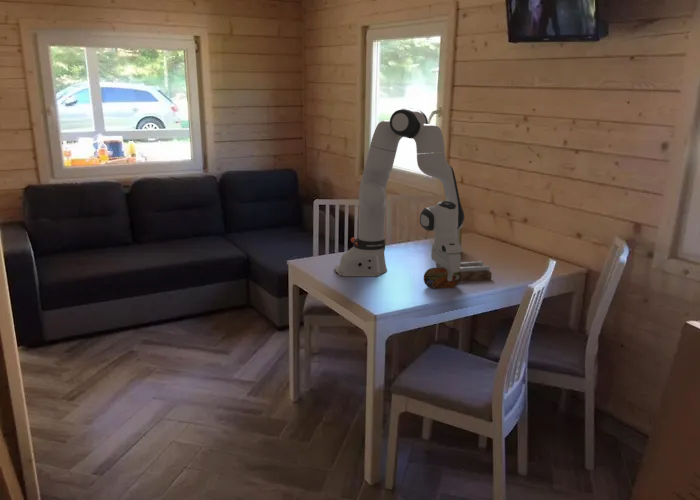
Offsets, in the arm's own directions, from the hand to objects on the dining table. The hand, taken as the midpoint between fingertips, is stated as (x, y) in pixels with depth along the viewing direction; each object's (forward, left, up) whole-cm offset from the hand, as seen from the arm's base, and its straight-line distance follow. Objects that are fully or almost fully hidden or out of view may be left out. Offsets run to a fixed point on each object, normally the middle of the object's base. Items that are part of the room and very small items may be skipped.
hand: (444, 276), depth 239 cm
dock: (+14, +11, -4) cm, 18 cm away
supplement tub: (+22, +49, -5) cm, 54 cm away
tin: (-1, 0, -5) cm, 5 cm away
